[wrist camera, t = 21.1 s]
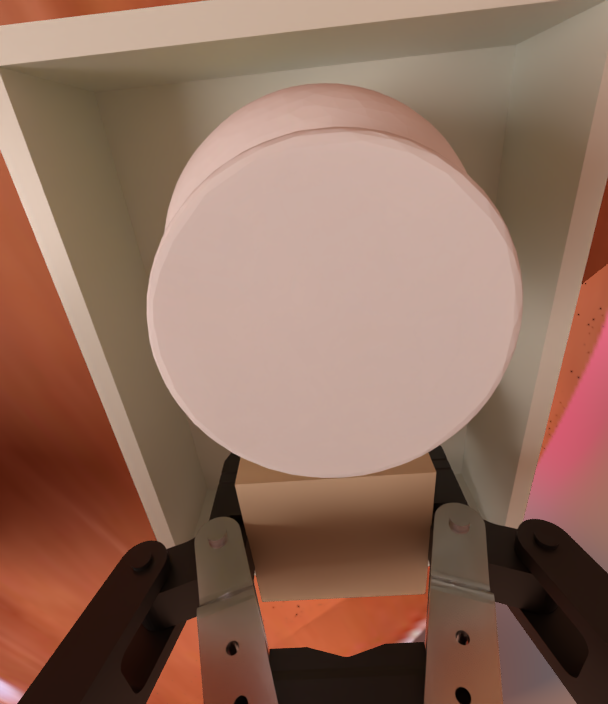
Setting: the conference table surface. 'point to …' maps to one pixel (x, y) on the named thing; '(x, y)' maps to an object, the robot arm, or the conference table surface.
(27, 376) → the conference table surface
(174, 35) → the box
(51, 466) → the conference table surface
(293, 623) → the conference table surface
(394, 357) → the supplement bottle
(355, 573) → the birch cube
